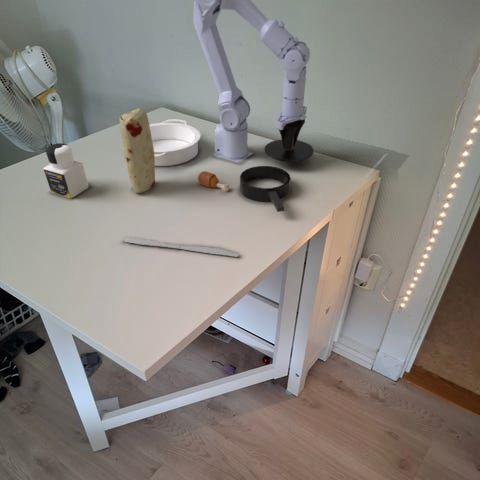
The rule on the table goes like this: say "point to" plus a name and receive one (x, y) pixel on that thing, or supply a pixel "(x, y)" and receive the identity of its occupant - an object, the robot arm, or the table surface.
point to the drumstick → (211, 181)
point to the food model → (138, 149)
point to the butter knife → (181, 247)
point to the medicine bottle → (64, 171)
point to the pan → (264, 173)
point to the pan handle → (276, 201)
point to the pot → (174, 142)
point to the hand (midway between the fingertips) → (289, 147)
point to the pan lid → (289, 151)
